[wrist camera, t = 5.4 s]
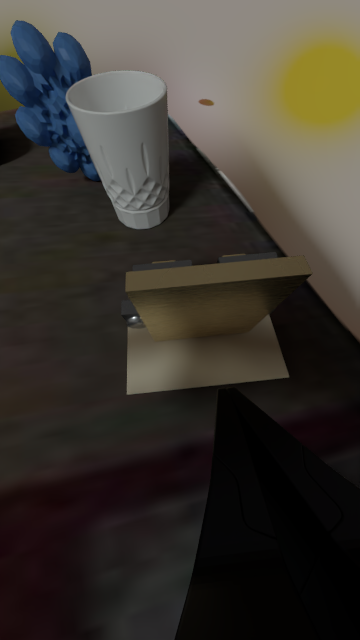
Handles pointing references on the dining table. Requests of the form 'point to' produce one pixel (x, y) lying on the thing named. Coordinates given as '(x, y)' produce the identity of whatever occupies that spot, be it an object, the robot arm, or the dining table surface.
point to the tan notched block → (212, 295)
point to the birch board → (203, 360)
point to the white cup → (127, 141)
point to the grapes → (48, 93)
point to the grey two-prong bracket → (128, 307)
